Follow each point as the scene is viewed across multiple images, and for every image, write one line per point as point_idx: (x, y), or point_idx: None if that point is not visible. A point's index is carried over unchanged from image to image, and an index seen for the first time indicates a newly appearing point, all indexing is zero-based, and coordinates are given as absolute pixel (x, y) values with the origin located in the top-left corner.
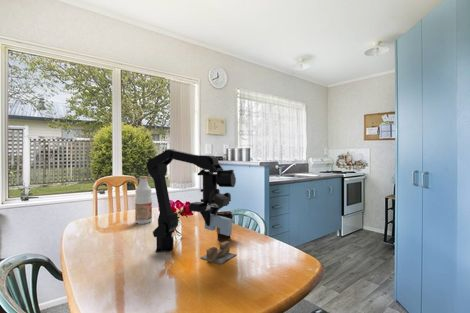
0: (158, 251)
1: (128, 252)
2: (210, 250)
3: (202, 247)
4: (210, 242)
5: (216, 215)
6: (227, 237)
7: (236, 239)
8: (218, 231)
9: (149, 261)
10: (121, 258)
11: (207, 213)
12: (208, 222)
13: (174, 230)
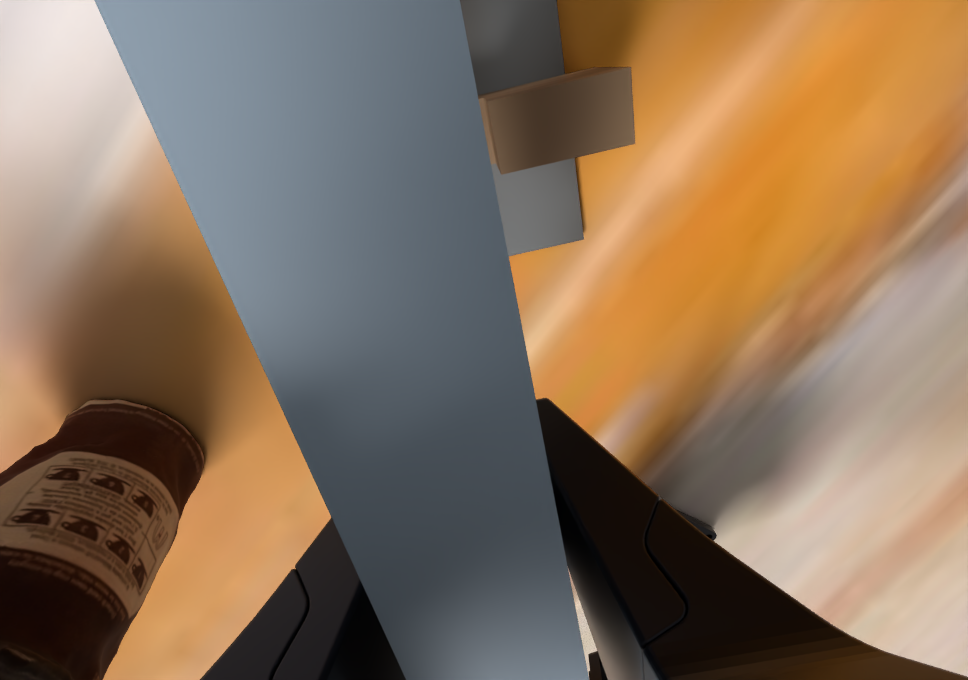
0: (703, 523)
1: (804, 598)
2: (613, 91)
3: None
4: (294, 461)
5: (380, 496)
6: (103, 426)
7: (11, 380)
8: (164, 520)
9: (846, 433)
10: (888, 553)
11: (891, 670)
12: (588, 439)
13: (595, 666)
